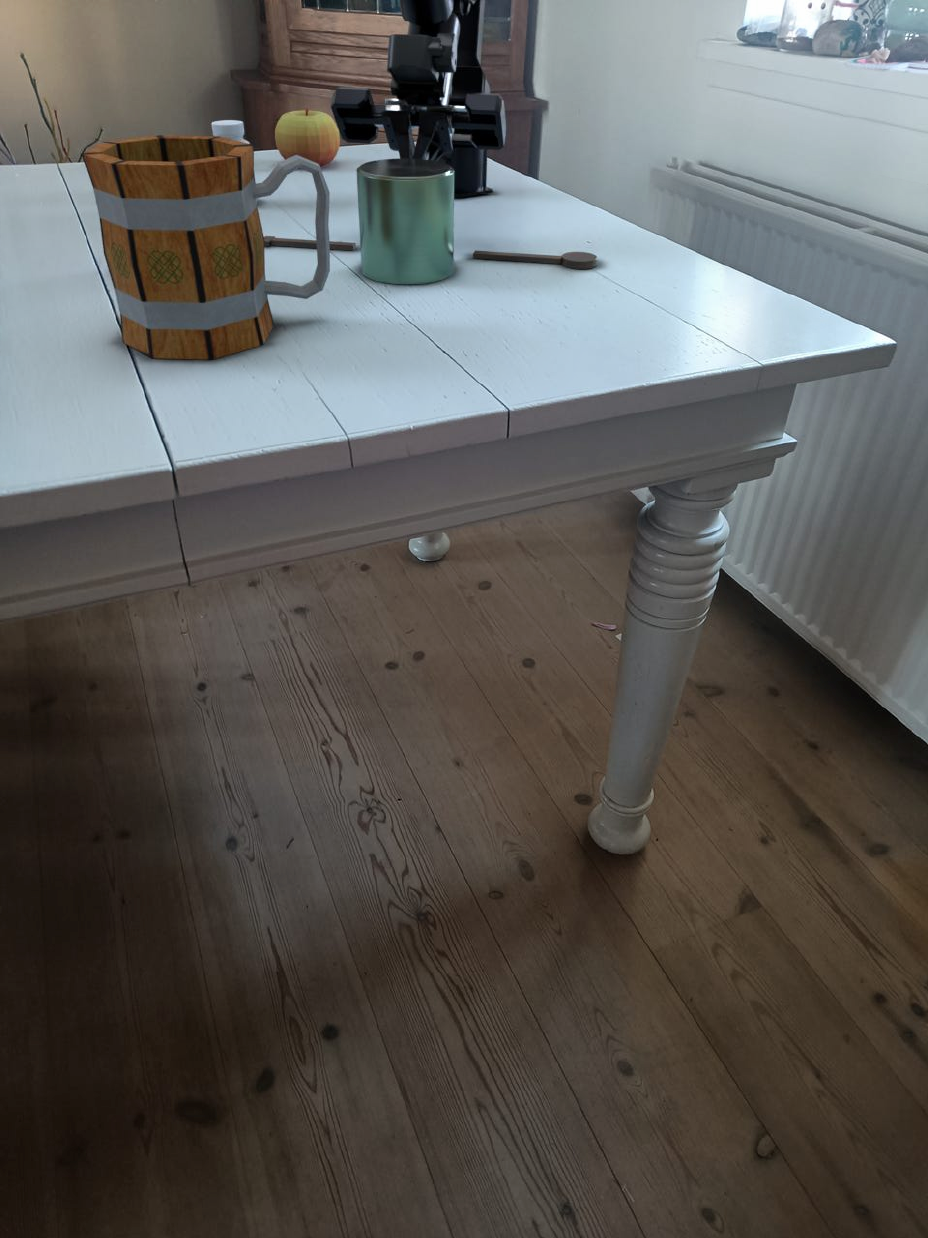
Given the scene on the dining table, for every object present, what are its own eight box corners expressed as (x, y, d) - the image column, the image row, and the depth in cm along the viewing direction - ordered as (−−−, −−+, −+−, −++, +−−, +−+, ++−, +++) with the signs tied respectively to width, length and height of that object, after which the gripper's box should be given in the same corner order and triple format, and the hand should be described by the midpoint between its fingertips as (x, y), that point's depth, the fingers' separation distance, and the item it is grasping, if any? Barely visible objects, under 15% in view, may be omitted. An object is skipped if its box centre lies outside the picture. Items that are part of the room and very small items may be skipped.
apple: (312, 174, 136) (307, 114, 131) (265, 166, 140) (258, 108, 135) (353, 164, 143) (350, 106, 138) (306, 156, 147) (302, 100, 142)
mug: (129, 369, 74) (86, 170, 65) (116, 317, 84) (76, 138, 75) (357, 341, 80) (347, 155, 71) (320, 296, 90) (306, 128, 81)
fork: (357, 246, 105) (357, 241, 104) (351, 252, 103) (351, 246, 102) (237, 238, 107) (236, 233, 106) (229, 244, 105) (228, 238, 104)
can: (408, 252, 103) (405, 153, 97) (472, 270, 98) (474, 167, 91) (342, 270, 97) (335, 166, 91) (407, 290, 92) (404, 182, 86)
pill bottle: (263, 199, 122) (253, 119, 116) (251, 209, 118) (241, 126, 112) (224, 198, 123) (213, 118, 117) (211, 207, 118) (199, 124, 113)
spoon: (470, 261, 100) (470, 254, 100) (476, 252, 103) (476, 244, 103) (595, 270, 98) (596, 262, 98) (597, 259, 102) (598, 252, 101)
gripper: (329, -3, 93) (304, 132, 91) (507, 2, 90) (486, 141, 88) (354, 77, 104) (333, 200, 101) (513, 84, 101) (495, 210, 99)
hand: (408, 188), depth 97 cm, fingers closed, pressing on can
